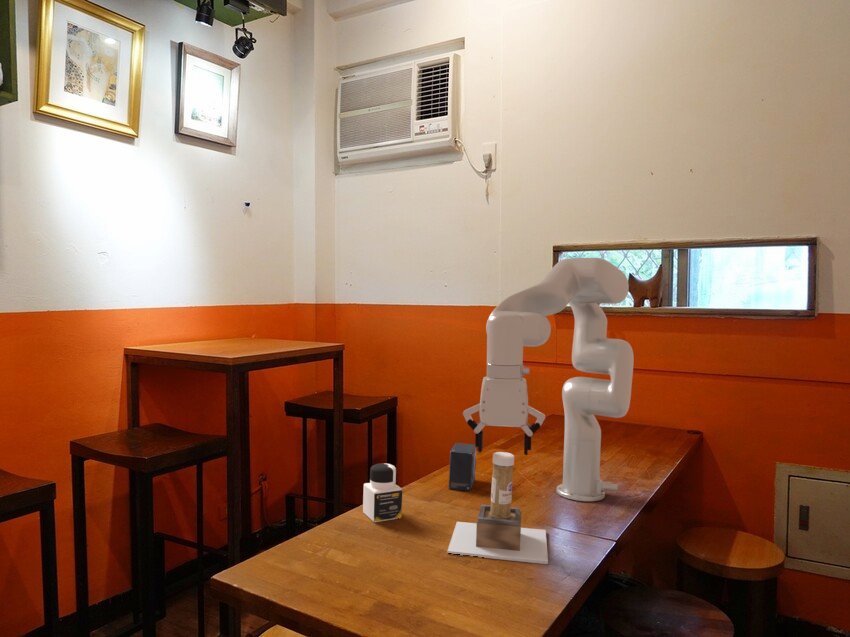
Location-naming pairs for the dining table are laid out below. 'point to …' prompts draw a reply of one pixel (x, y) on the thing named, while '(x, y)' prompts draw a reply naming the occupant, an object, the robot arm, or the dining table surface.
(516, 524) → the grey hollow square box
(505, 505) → the sprinkles bottle
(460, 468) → the small box
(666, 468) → the dining table surface
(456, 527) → the white rectangular board
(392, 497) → the medicine bottle
